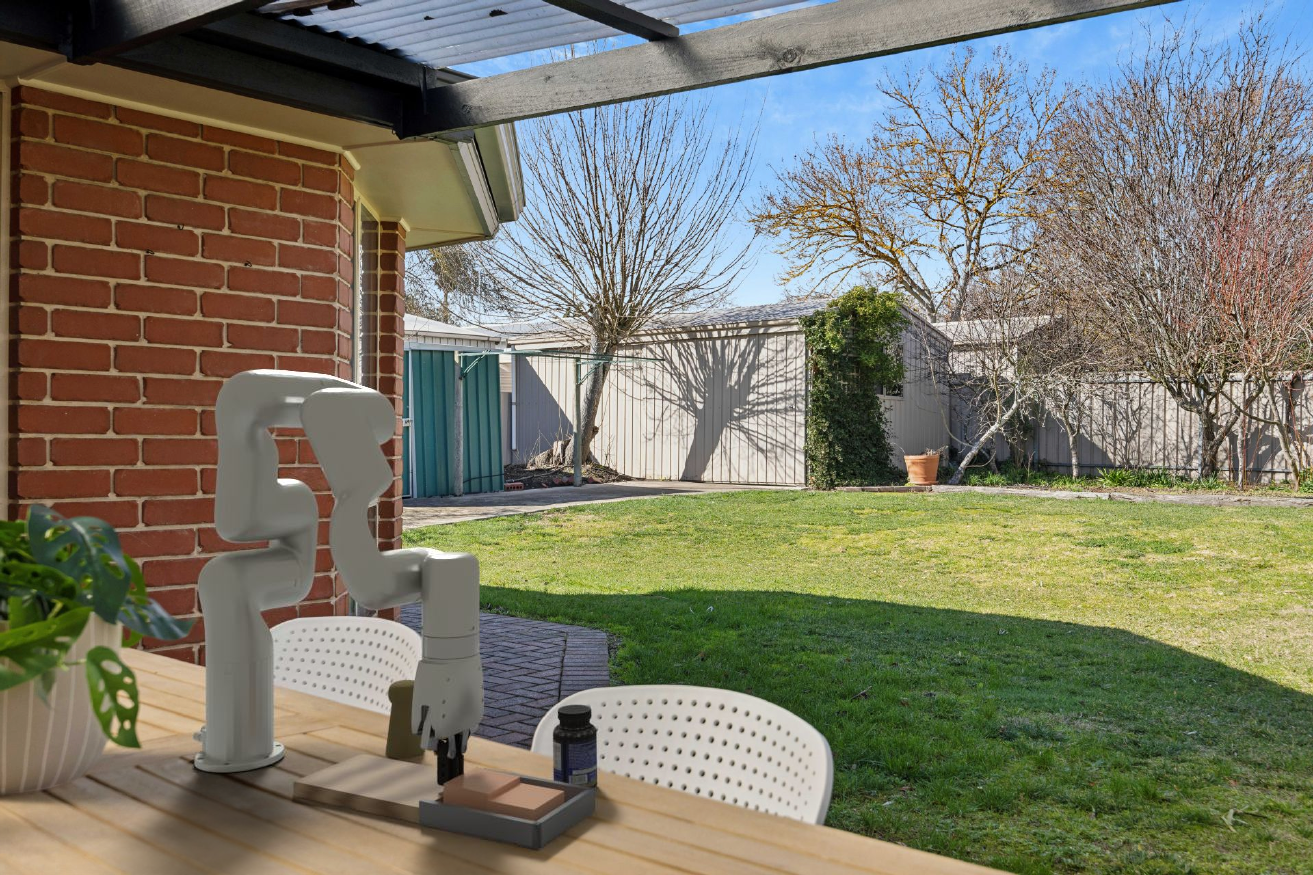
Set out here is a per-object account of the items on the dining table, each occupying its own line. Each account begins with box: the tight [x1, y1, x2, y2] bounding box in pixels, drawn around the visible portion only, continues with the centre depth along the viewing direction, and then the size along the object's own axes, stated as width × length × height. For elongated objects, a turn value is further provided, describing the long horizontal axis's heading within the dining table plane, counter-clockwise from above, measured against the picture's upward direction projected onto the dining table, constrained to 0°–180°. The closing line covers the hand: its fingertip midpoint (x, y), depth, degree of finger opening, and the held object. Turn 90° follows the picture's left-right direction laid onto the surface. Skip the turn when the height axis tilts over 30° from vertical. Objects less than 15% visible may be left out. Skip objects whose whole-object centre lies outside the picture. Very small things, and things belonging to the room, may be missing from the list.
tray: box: [418, 767, 596, 851], centre depth 125 cm, size 18×14×3 cm
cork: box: [385, 679, 426, 759], centre depth 152 cm, size 6×6×11 cm
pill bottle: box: [552, 704, 598, 789], centre depth 136 cm, size 6×6×11 cm
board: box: [292, 753, 444, 824], centre depth 134 cm, size 22×13×2 cm, turn 64°
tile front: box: [487, 783, 564, 821], centre depth 124 cm, size 7×7×3 cm
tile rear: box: [443, 766, 520, 811], centre depth 127 cm, size 7×7×3 cm
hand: (450, 784), depth 129 cm, fingers closed
